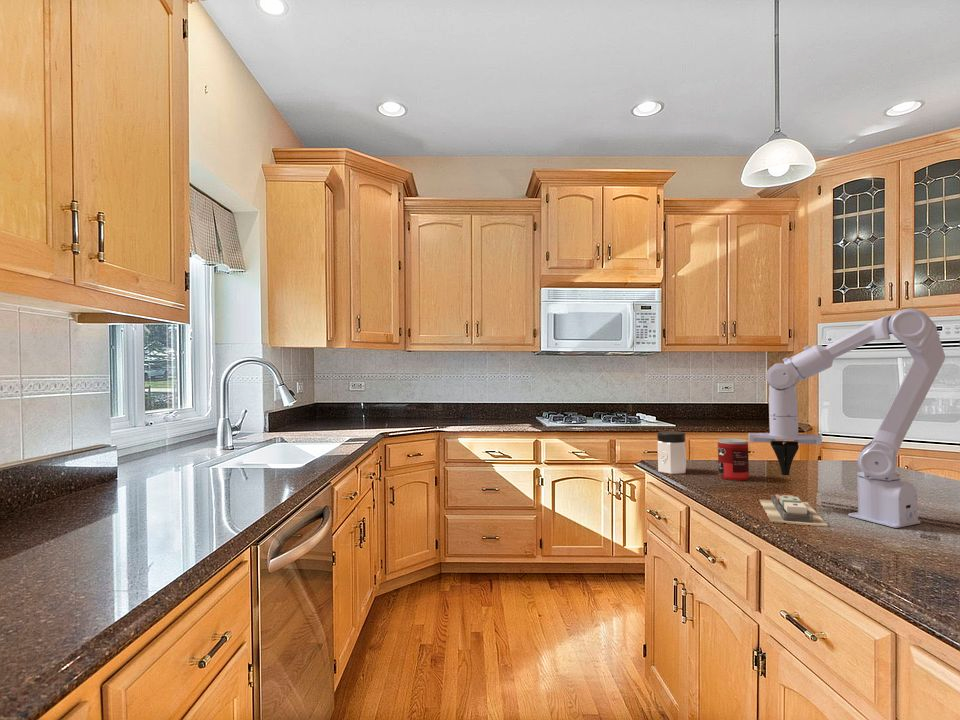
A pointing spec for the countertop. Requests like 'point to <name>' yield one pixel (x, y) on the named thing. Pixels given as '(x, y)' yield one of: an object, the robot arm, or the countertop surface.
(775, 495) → the key three
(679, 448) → the jar
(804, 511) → the key one
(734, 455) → the canned food
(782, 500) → the key two
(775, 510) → the key board
